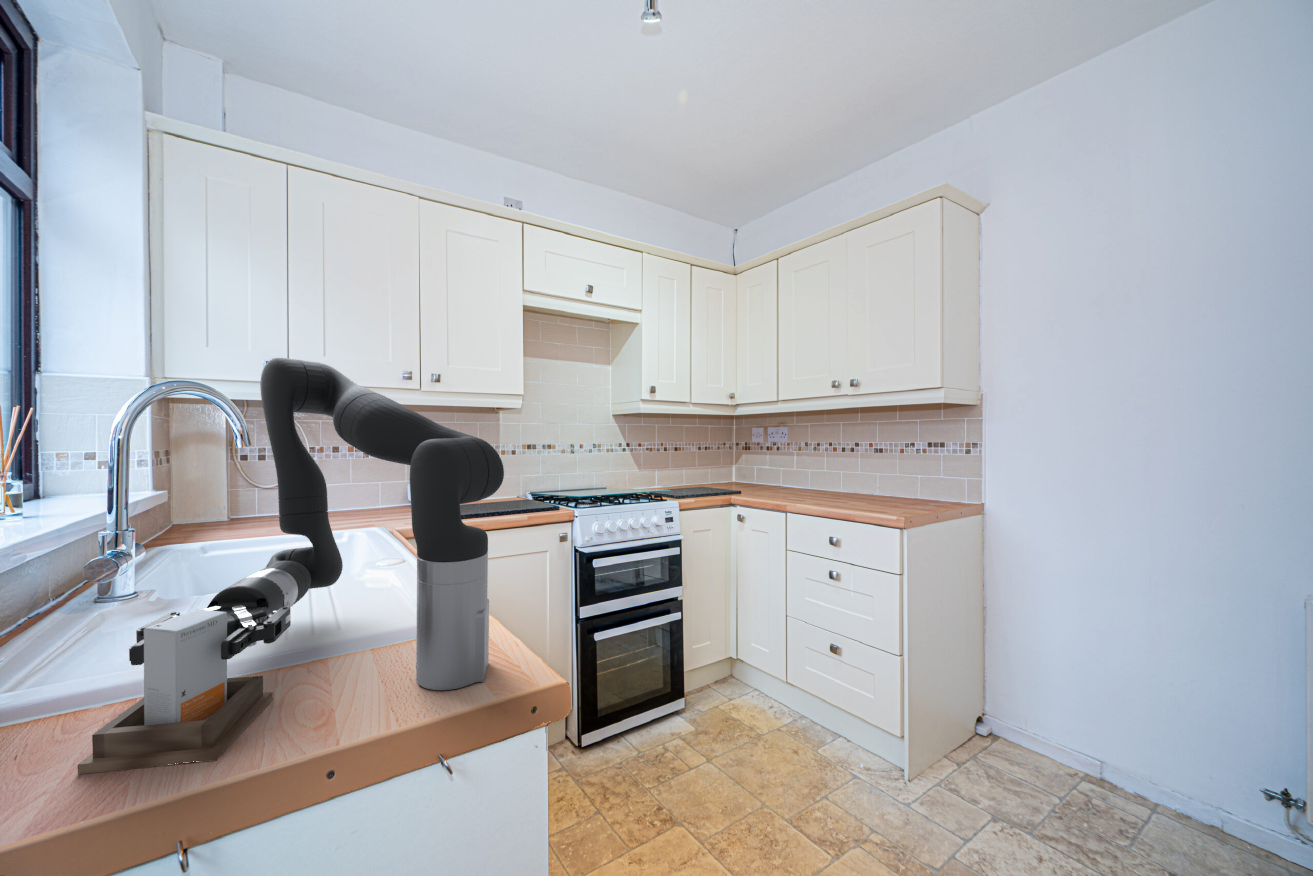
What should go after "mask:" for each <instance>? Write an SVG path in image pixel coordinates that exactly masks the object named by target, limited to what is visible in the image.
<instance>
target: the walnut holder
mask: <svg viewBox="0 0 1313 876" xmlns="http://www.w3.org/2000/svg"><path fill="white" fill-rule="evenodd" d="M273 697H274V692H273V691H266V692H265V691H264V676H263V675H254V676H242V677H241V676H240V677H229V678H228V677H227V702H226V703H225V704H224V705H223V706H221V707H220V708H219V709H218V710H217V711H216V712H215V713H214V714H213V715H212V716H211V717H210V718H209V719H208V720H201V721H189V722H177V723H166V724H154V725H144V697H142V698H141V699H140V700H138V701H137V702H135V703H134V704H132V705H131V706H130V707H129V708H127V709H126V710H124V711H123V712H122V713H120V714H119V715H117V716H116V717H115V718H113V719H112V720H110V721H109V722H108V723H107V724H105V725H103V726H102V727H101V728H100V729H98V730H97V731H95V732H94V733H93V734H92V735H91V737H92V738H91V739H92V740H91V741H92V753H91V754H89V755H88V756H87V757H85V758H84V759H83V760H82V761H80V762H79V763H77V775H82V774H83V775H84V774H85V775H86V774H93V773H103V772H104V773H105V772H116V771H123V770H136V769H142V768H143V769H145V768H153V767H152V766H156V767H163V765H166V766H169V765H168V764H175V763H176V765H178V764H177V763H183V762H193V761H194V762H196V761H206V762H213V761H212V760H216V761H218V760H219V759H220V758H221V756H222V755H223V754H224V753H225V752H226V751H227V750H228V749H229V748H230V747H231V745H232V744H234V742H235V741H236V740H237V739H238V738H239V737H240V736H241V735H242V734H243V733H244V732H245V730H246V729H247V728H248V727H249V726H250V725H251V724H252V723H253V721H255V719H256V718H257V717H258V716H259V715H260V714H261V713H262V712H263V711H264V710H265V708H266V707H267V706H269V704H270V703H271V702H272V701H273V700H274V698H273ZM217 759H218V760H217ZM210 760H211V761H210ZM196 763H197V762H196ZM161 765H162V766H161Z"/></svg>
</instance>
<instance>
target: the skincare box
mask: <svg viewBox="0 0 1313 876" xmlns="http://www.w3.org/2000/svg"><path fill="white" fill-rule="evenodd" d="M226 638H227V612H221V611H211V610H204V608H203V609H202V608H198V609H195V610H192V611H190V612H187V613H184V614H180V616H176V617H173V618H170V619H168V620H166V621H164V622H161V623H158V624H156V625H153V626H150V627H147V628H145V629H144V663H143V698H144V725H154V724H166V723H177V722H189V721H201V720H208V719H209V718H210V717H211V716H212V715H213V714H214V713H215V712H216V711H217V710H218V709H219V708H220V707H221V706H223V705H224V704H225V703H226V702H227V678H228V659H225V660H222V659H221V643H222V641H223V640H224V639H226Z"/></svg>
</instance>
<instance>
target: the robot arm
mask: <svg viewBox="0 0 1313 876" xmlns="http://www.w3.org/2000/svg"><path fill="white" fill-rule="evenodd" d="M259 390H260V397H261V403H262V404H261V405H262V409H263V414H264V419H265V424H266V429H267V434H268V438H269V444H270V447H271V450H272V452H271V453H272V456H273V461H274V465H275V466H274V467H275V471H276V479H277V491H278V492H277V494H278V495H277V497H278V515H279V516H278V517H279V518H278V523H279V528H280V530H281V532H282V533H284V534H287V535H297V536H303V537H305V538H307V539H308V540H309V542H310V543H311V545H312V546H306V547H296V548H288V549H284V550H280V551H278V552H276V553H274V554H273V555H272V556H271V558H270V560H269V561H268V563H267V564H266V566H265V567H264V568H262V569H261V570H259V571H256V572H253V573H252V574H249V575H246V577H244V578H241V579H240V580H238V581H236V582H234V583H232V584H231V585H230V586H227V587H226V588H224V589H222V590H220V591H219V592H218V593H217V594H216V595H214V597H213V598H212V599H211V601H210V602H209V604H207V607H206V608H203V610H211V611H221V612H227V638H226V639H224V640H223V641H222V643H221V659H222V660H225V659H227V660H230V659H232V658H233V657H235V656H237V655H238V654H240V653H242V652H243V651H244V650H245V649H247V648H249V647H250V648H251V647H254V646H255V645H257V642H260V641H263V644H272V643H274V642H276V641H277V640H278V639H279V638H280V637H281V636H282V635H283V633H284V634H285V632H286V631H287V630H288V628H289V627H291V622H292V621H291V618H292V616H291V614H292V613H291V607H293V606H294V605H295V604H296V603H298V602H299V601H300V600H301V599H303V597H304V596H306V594H307V592H308V591H309V590H312V589H319V588H321V589H322V588H327V587H331V586H333V585H334V584H336V582H338V580H339V579H340V576H341V575H342V571H343V559H342V556H341V553H340V550H339V546H338V545H337V543H336V540H335V537H334V534H333V531H332V527H331V524H330V521H329V520H330V519H329V512H328V511H329V506H328V504H329V503H328V488H327V483H326V479H325V476H324V473H323V472H322V470H321V468H320V466H319V465H318V464H317V462H316V461H315V459H314V458H313V456H312V455H311V454H310V453H309V451H308V449H307V448H306V447H305V445H304V444H303V441H302V440H301V438H300V435H299V434H298V433H299V432H298V431H297V427H296V425H295V424H296V423H295V417H294V416H295V414H294V413H299V414H300V413H301V414H316V415H317V414H318V415H325V416H329V417H332V421H333V422H332V423H333V428H334V430H335V431H336V433H337V435H338V436H339V437H340V438H341V439H342V440H343V441H344V442H346V443H347V444H348V445H349V446H351V447H352V448H355V449H357V450H358V451H360V452H361V453H364V454H366V455H367V456H370V457H372V458H376V459H379V460H382V461H387V462H391V463H395V464H399V465H400V464H401V465H407V466H409V492H410V508H411V509H410V510H411V511H410V512H411V529H412V530H411V531H412V533H413V537H414V541H415V545H416V648H415V649H416V652H415V653H416V659H415V661H416V663H415V669H416V674H415V675H416V683H417V684H418V686H421V687H422V688H425V689H428V690H432V691H448V690H449V691H450V690H451V691H452V690H455V689H461V688H463V687H467V686H470V685H473V684H474V683H475V684H476V683H482V682H483V683H484V682H485V679H486V675H487V674H486V673H487V670H488V667H489V647H490V645H489V644H490V643H489V642H490V640H489V639H490V638H489V637H490V636H489V634H490V630H489V629H490V600H489V598H488V587H489V586H488V582H489V580H488V579H489V578H488V575H489V573H488V572H489V568H488V567H489V562H488V561H489V557H488V556H489V552H488V551H489V535H488V534H487V532H486V530H484V529H483V528H480V527H477V526H471V525H466V524H465V523H464V522H463V520H462V514H461V505H464V504H470V503H475V502H480V501H482V500H485V499H488V498H490V497H491V496H493V495H494V494H495V493H496V492H497V491H498V490H499V489H500V487H501V486H502V484H503V481H504V477H505V470H504V469H505V468H504V463H503V461H502V458H501V456H500V455H499V453H498V451H497V450H496V449H495V448H494V447H493V446H492V445H491V444H490V443H489V442H487V440H484V439H482V438H480V437H478V436H477V437H476V436H473V435H471V434H467V433H464V432H461V431H457V430H455V429H451V428H449V427H445V426H443V425H442V424H440V423H438V422H435V421H434V420H431V419H430V418H428V417H426V416H424V415H422V414H420V413H418V412H416V411H414V410H412V409H410V408H408V407H406V406H404V405H402V404H400V403H399V402H397V401H395V400H394V399H391V398H389V397H387V396H386V395H383V394H380V393H378V392H376V391H373V390H371V389H369V388H367V387H364V386H362V385H359V384H357V383H356V382H354V381H353V380H351V379H350V378H349V377H347V376H346V375H344V374H343V373H342V372H340V371H339V370H337V369H336V368H335V367H332V366H331V365H328V364H325V363H321V362H318V361H311V360H310V361H309V360H302V359H294V358H286V357H274V358H272V359H269V361H267V362H266V363H265V364H264V366H263V369H262V372H261V375H260V389H259ZM180 615H181V613H180V611H171V612H169V613H167V614H164V615H163V616H160V617H158V618H157V619H154V620H153V621H150V622H149V623H146V624H145V625H143V626H141V627H139V628H137V629H135V630H136V631H135V632H136V633H135V634H136V643H135V644H133V645H131V646H129V648H128V653H129V656H128V658H129V662H130V665H131V666H141V665H144V629H145V628H147V627H150V626H153V625H156V624H158V623H161V622H164V621H166V620H168V619H170V618H173V617H176V616H180Z"/></svg>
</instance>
